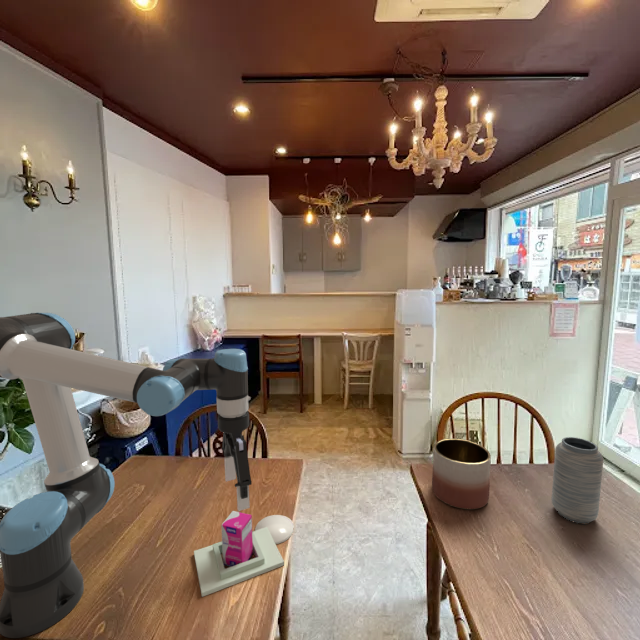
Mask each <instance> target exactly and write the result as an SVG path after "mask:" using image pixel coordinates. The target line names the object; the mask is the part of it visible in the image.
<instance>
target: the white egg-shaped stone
mask: <svg viewBox="0 0 640 640" xmlns="http://www.w3.org/2000/svg"><path fill="white" fill-rule="evenodd" d="M265 527H267V528H268V530H269V532H270V534H271V536H272V538H273V540H274V542H275V544H276V545H278V544H282V543H285V542H286V541H287V540H289V539H290V538H291V537H292V535H293V534H292V533H294V532H295V531H294V530H295V527H294V522H293V520H291V518H289V517H288V516H285V515H283V514H273V515H268V516H265V517H264V518H262V519H260V520H259V521H258V522H257V524H256V525H255V527H254V531H256V530H259V529H262V528H265ZM293 528H294V530H293Z"/></svg>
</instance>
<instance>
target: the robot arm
mask: <svg viewBox="0 0 640 640" xmlns="http://www.w3.org/2000/svg"><path fill="white" fill-rule="evenodd" d="M75 342H76V334H75V331H74V329H73V327H72V325H71V324H70V323H69V321H68V320H66V319H65V318H64V317H61V316H60V315H58V314H56V313H53V312H31V313H24V314H18V315H16V314H15V315H11V316H0V378H2V379H5V380H16V379H20V380H22V382H23V386H24V389H25V393H26V396H27V399H28V404H29V407H30V411H31V413H32V417H33V420H34V424H35V426H36V430H37V434H38V437H39V441H40V444H41V448H42V451H43V454H44V457H45V461H46V464H47V468H48V471H49V473H47V476H46V477H45V478H44V480H43V482H44V487H45V489H46V491H43V492H40V493H37V494H34V495H32V497H31V498H30V497H29V498H25V499H23V500H22V501H20V502H19V503H16V504H15V505H13V507H11V508H10V509H9V510H8V511H7V512H6V513H5V515H4V516H3V518H2V519H1V520H0V561H1V568H2V569H1V570H2V575H3V576H2V577H3V583H4V589H3V592H2V596H1V599H0V635H1V636H3V637H4V638H8V639H21V638H27V637H30V636H33V635H36V634H39V633H40V632H42V631H45V630H47V629H49V628H50V627H52V626H54V625H55V624H57V623H58V622H59V621H61V620H62V619H64V618H65V617H66V616H67V615H68V614H69V613H70V612H71V611H73V610H74V608H75V607H76V606H77V605H78V603H79V601H80V600H81V598H82V597H83V594H84V589H85V586H84V585H85V584H84V577H83V574H82V573H81V571H80V569H79V568H78V566H77V564H76V563H75V561H74V560H73V558H72V548H71V541H72V539H74V537H75V536H76V535H77V534H78V533H79V532H80V531H81V530H82V529H83V528H85V526H86V525H87V524H88V523H89V522H90V521H91V520H92V519H93V518H94V517H95V516H96V515H97V514H98V513H99V512H101V511H102V510H103V508H104V507H105V506H106V504H107V503H108V502H109V501H110V499H111V498H112V496H113V495H114V491H115V485H116V483H115V477H114V475H113V473H112V471H111V470H110V468H106V466H105V465H104V464H103V463H100V462H99V459H98V458H96V457H92V456H90V453H89V452H90V451H89V449H88V445H87V442H86V438H85V434H84V431H83V427H82V423H81V421H80V416H79V414H78V413H79V412H78V410H77V405H76V401H75V398H74V394H73V392H72V389H74V390H78V391H83V392H87V393H92V394H96V395H101V396H105V397H109V398H114V399H118V400H122V401H128V402H132V403H136V404H137V405H138V407H139V408H140V410H142V411H143V412H144V413H146V414H147V415H149V416H152V417H162V416H164V415H167V414H168V413H170V412H172V411H174V410H176V409H177V408H178V407H179V406H180V405H181V404H182V402H184V401H185V400H186V399H187V398H188V397H190V396H191V395H193V393H194V392H196V391H204V390H205V391H207V390H208V391H209V390H210V391H211V390H215V391H216V396H215V397H216V413H217V414H218V415H217V428H218V430H219V432H221V433H223V436H222V444H221V445H222V447H221V450H222V451H223V456H224V457H223V458H224V477H225V478H224V481H225V482H227V483H228V482H229V481H233V480H236V481H237V482H236V483H235V484H234V487H235V488H236V502H237V503H236V506H237V509H236V510H237V512H241V511H245V510H247V509H250V505H251V504H250V503H251V502H250V485H252V483H253V482H252V476H251V471H250V470H251V469H250V463H249V456H248V450H247V443H248V442H247V440H246V439H245V437H244V436H245V435H244V434H242V432H244V431H245V430H247V429H248V428H249V426H250V412H249V409H250V408H249V401H250V400H251V396H249V385H248V384H249V382H248V380H249V379H248V375H249V373H248V372H249V371H248V370H249V368H248V361H247V353H246V352H245V351H244V350H243V349H240V348H227V349H225V348H224V349H223V348H222V349H220V350H219V349H218V350H217V351H216V352H215V353H214V357H213V358H185V357H180V358H171V359H169V360H167V361H166V362H165V364H164V366H163V368H162V369H158V368H153V367H150V366H146V365H140V364H137V363H132V362H127V361H124V360H119V359H115V358H110V357H106V356H102V355H97V354H95V353H94V354H93V353H90V352H85V351H80V350H76V349H73V347H74V345H75Z"/></svg>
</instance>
